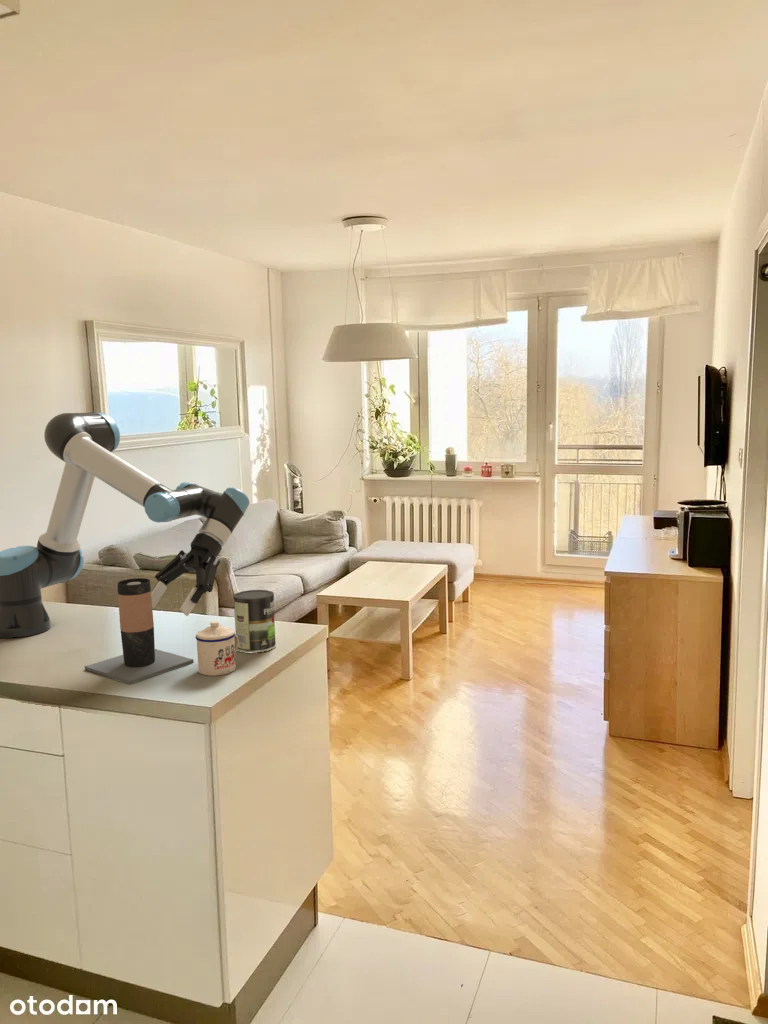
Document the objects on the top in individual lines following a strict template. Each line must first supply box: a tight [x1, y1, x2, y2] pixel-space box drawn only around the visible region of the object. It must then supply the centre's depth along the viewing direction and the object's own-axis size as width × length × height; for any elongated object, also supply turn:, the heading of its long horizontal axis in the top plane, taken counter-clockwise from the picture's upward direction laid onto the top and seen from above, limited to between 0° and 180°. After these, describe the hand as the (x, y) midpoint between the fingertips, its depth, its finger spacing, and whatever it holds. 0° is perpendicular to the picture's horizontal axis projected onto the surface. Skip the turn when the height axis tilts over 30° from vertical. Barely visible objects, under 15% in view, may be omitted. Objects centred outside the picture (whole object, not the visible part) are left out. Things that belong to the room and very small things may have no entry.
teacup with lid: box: [195, 620, 239, 677], centre depth 184 cm, size 12×9×12 cm
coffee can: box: [232, 589, 277, 653], centre depth 199 cm, size 10×10×14 cm
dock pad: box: [84, 648, 194, 685], centre depth 188 cm, size 18×18×1 cm
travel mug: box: [117, 577, 156, 667], centre depth 186 cm, size 8×8×20 cm
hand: (166, 609), depth 192 cm, fingers open, 13 cm apart
